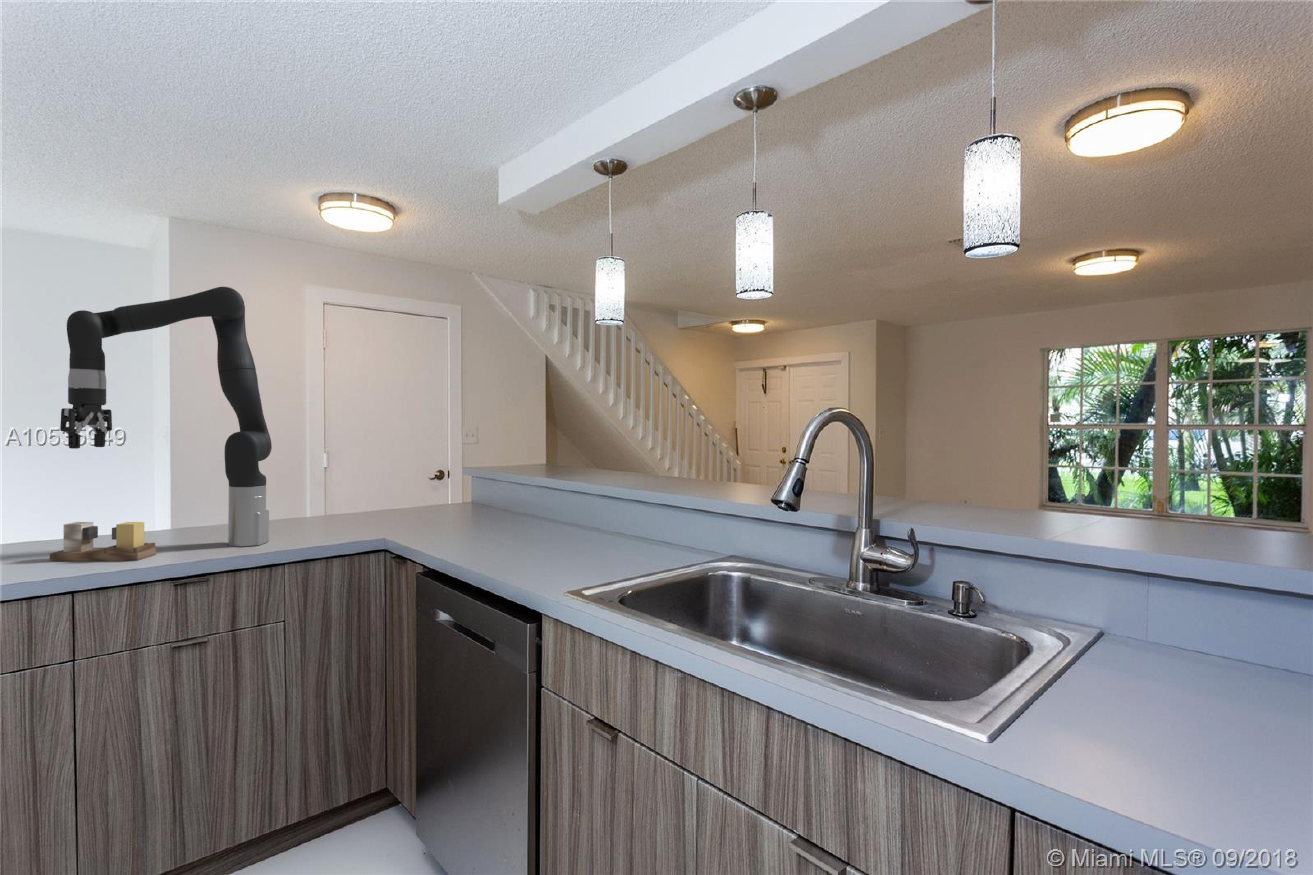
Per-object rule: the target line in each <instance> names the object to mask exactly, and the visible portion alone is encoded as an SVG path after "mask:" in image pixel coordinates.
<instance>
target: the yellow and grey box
mask: <svg viewBox="0 0 1313 875" xmlns="http://www.w3.org/2000/svg"><path fill="white" fill-rule="evenodd" d="M111 540H113V541H114V540H115V542H116V544H115V545H116V548H135V547H139V546H143V545H144V543H145V522H144V521H126V522H122V523H116V526H115V527H114V526H113V527H111Z"/></svg>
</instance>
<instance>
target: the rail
mask: <svg viewBox="0 0 1313 875" xmlns="http://www.w3.org/2000/svg"><path fill="white" fill-rule="evenodd" d="M98 538H99V526H98V525H94V521H73V522H70V523H63V549H61V550H58V551H57V550H56V551H53V552H49V562H111V561H113V562H115V561H117V562H120V561H121V562H122V561H125V562H126V561H127V562H130V561H133V562H134V561H135V562H136V561H140V560H144V559H147V558H150V557H154V556H156V555H157V547H156V542H144V545H143V546H139V547H135V548H116V544H115V545H110V546H107V547H94V540H95V539H98Z"/></svg>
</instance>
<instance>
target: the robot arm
mask: <svg viewBox="0 0 1313 875" xmlns="http://www.w3.org/2000/svg"><path fill="white" fill-rule="evenodd" d="M206 317H208V318H209V317H210V318H211V320H212V323H213V326H214V329H215V330H214V331H215V335H216V340H217V354H216V355H217V359H216V360H217V371H218V372H217V373H218V378H219V383H220V388H221V390H222V393H223V395H224V397H225V398H226V400H227V401H228V403H229V405H230V406H231V407H232V410H233V411H234V412H235V414H236V418H237V421H238V426H239V431H236V432H233V433H232V434H230V435H229V436H228V437H227V439H226V441H225V444H224V467H225V468H224V472H225V475H226V479H227V481H228V518H227V519H228V524H227V525H228V526H227V527H228V530H227V532H228V537H227V540H228V542H227V545H228V546H229V547H252V546H253V547H254V546H261V545H263V544H266V543H268V542H270V510H269V509H267V477H266V475H265V474H263V473H262V472H261V471H260V466H259V462H262V461H265V460H266V459H267V458H268V457H269V456H270V455H271V452H272V446H273V444H272V440H271V435H270V432H269V429H268V427H267V426H268V425H267V423H266V419H265V415H264V410H263V405H262V400H261V393H260V389H259V380H258V374H257V369H256V368H257V367H256V364H255V361H254V357H253V353H252V351H251V348H250V345H249V342H248V337H247V331H246V330H247V329H246V305H245V300H244V298H243V296H242V295H241V294H240V292H238V290H235V289H234V288H232V287H229V286H217V287H213V288H210V289H207V290H204V291H199V292H196V293H193V294H189V295H186V296H181V297H176V298H171V299H165V300H158V301H152V302H151V301H150V302H145V303H136V304H130V305H124V306H123V305H122V306H119V307H116V308H114V309H113V310H107V311H99V312H92V311H89V310H84V309H82V310H76V311H74V312H72V313H71V314H70V315H69V316H68V318H67V320H66V334H67V335H66V336H67V342H68V346H69V358H68V359H69V360H68V361H69V371H68V376H67V402H68V404H69V405H72V407H71V408H70V407H66V408H61V409H60V426H59V428H60V429H59V430H60V432H63V433H64V432H65V433H66V434H67V438H68V440H67V441H68V442H67V445H68V448H69V449H80V448H81V434H80V433H81V431H82V430H83V428H86V426H89V428H92V430H93V432H94V434H93V438H94V439H93V446H94V447H95V448H104V447H106V434H107V433H108V432H111V431H112V430H113V419H112V418H113V416H112V415H113V413H112V410H111V409H105V408H104V409H103V408H102V407H103V406H105V405H107V376H106V354H105V352H104V350H103V339H106V338H110V337H114V336H118V335H122V334H127V333H135V332H141V331H148V330H153V329H159V328H162V327H166V326H169V325H172V324H176V323H178V322H181V321H186V320H190V319H191V320H192V319H196V318H206ZM67 423H68V424H67ZM67 425H68V426H67Z"/></svg>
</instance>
